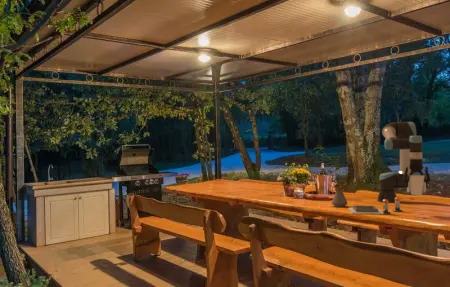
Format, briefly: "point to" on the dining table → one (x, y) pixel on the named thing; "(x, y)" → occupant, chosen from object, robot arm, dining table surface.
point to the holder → (365, 210)
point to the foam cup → (416, 184)
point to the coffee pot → (339, 198)
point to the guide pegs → (397, 209)
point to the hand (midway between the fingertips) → (416, 192)
